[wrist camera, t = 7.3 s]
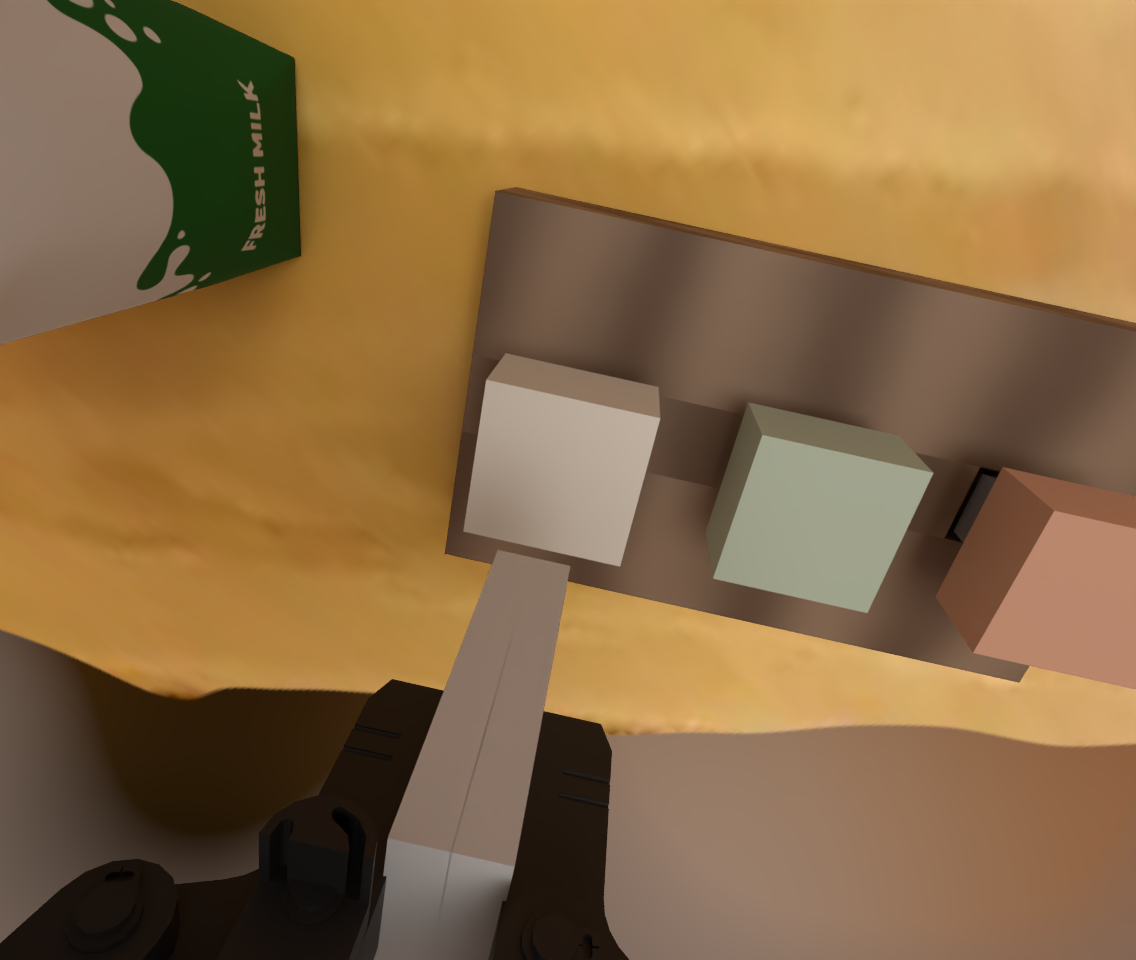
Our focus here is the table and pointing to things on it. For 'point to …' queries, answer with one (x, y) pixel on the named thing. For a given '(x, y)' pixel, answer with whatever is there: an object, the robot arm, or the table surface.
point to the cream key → (561, 458)
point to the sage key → (813, 507)
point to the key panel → (795, 395)
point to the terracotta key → (1047, 576)
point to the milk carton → (136, 158)
